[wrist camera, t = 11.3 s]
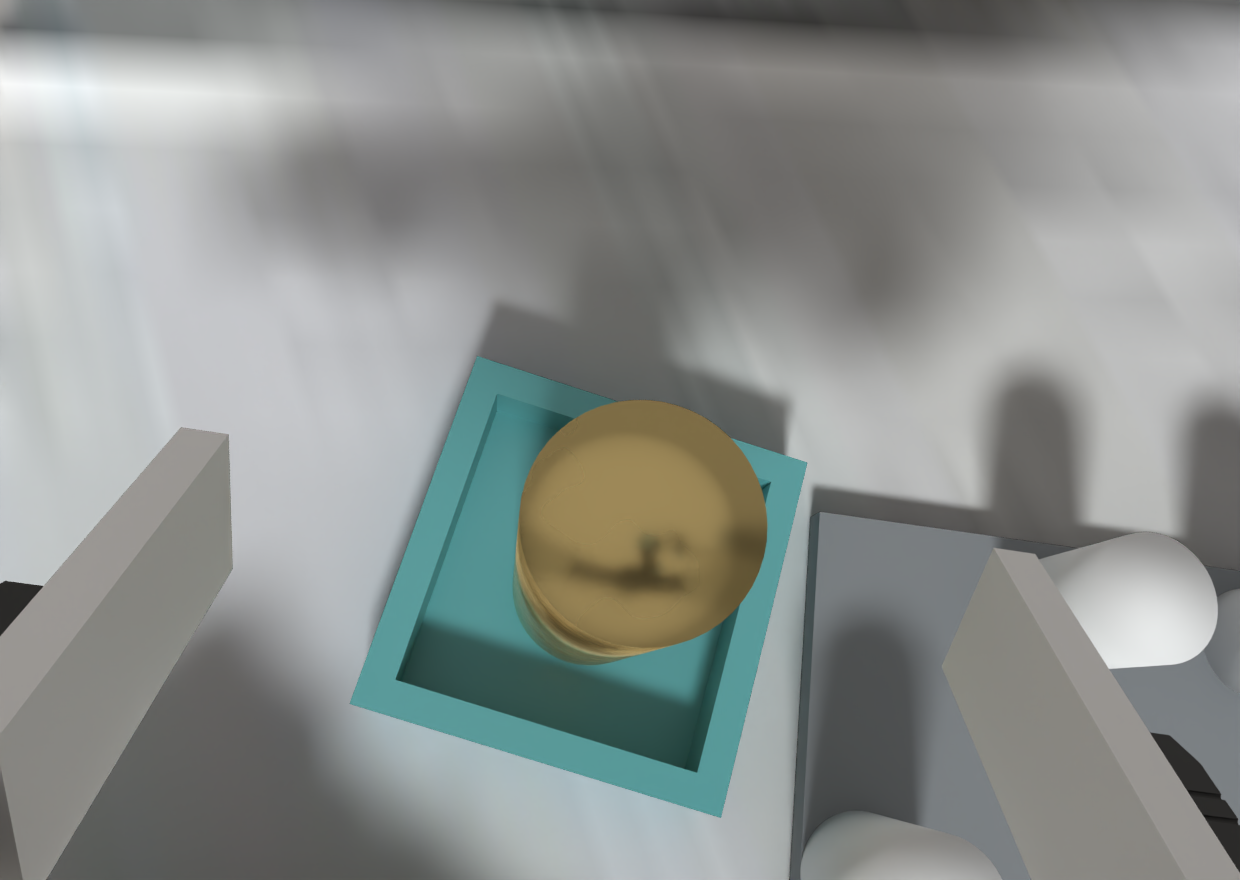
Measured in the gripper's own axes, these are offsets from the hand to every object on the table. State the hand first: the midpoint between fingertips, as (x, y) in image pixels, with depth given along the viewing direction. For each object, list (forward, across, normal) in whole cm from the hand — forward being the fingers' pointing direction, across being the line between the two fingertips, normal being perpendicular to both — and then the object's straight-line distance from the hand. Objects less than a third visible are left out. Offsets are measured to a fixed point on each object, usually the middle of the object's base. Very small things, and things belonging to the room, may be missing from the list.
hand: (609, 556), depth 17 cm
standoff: (+6, 0, -6) cm, 9 cm away
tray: (+7, 0, -6) cm, 9 cm away
